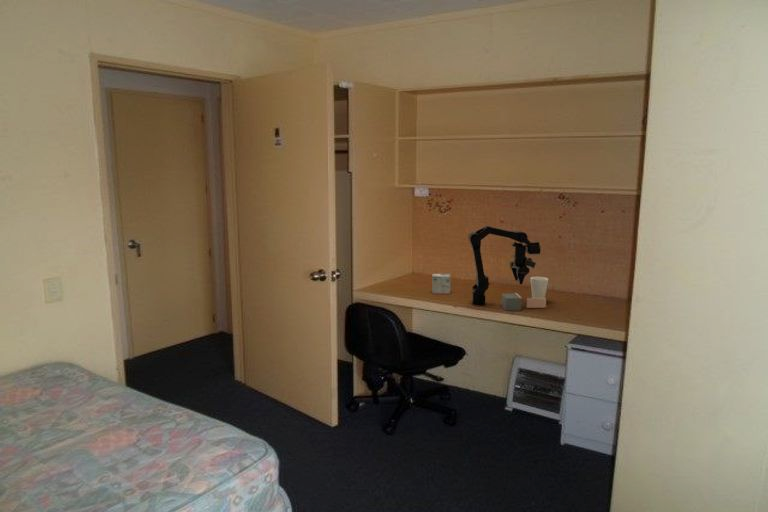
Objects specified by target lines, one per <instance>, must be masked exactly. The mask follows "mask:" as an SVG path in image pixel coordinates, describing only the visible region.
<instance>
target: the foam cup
mask: <svg viewBox="0 0 768 512" xmlns="http://www.w3.org/2000/svg"><path fill="white" fill-rule="evenodd" d="M529 282H530V287H531V298H546V293H547V289H548V283H549V278H547V277H545V276H531V277H530V281H529Z"/></svg>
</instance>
